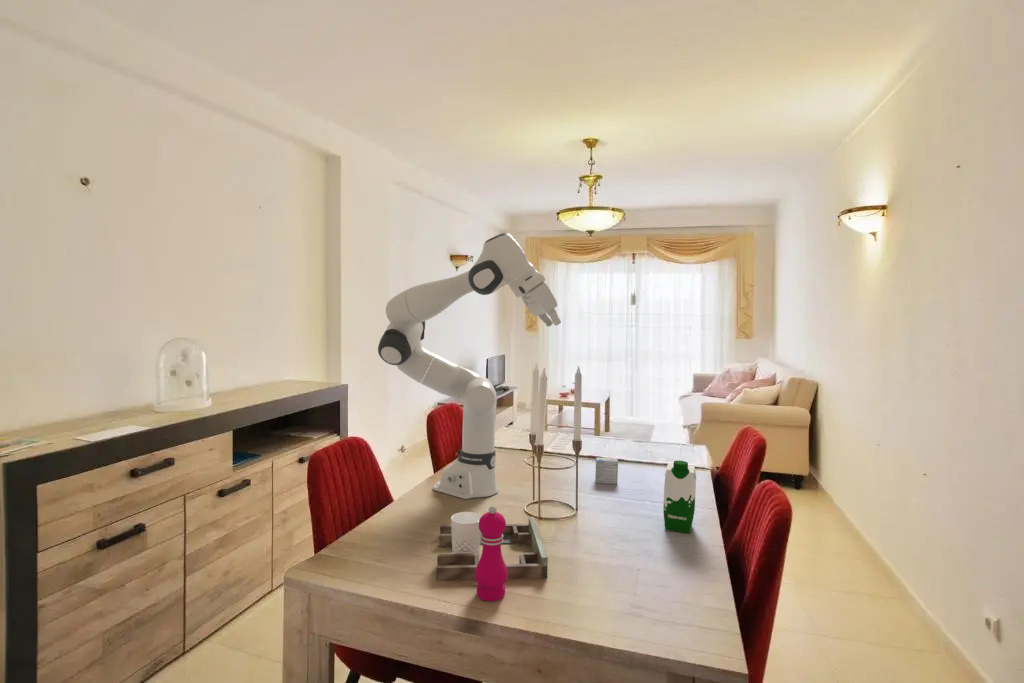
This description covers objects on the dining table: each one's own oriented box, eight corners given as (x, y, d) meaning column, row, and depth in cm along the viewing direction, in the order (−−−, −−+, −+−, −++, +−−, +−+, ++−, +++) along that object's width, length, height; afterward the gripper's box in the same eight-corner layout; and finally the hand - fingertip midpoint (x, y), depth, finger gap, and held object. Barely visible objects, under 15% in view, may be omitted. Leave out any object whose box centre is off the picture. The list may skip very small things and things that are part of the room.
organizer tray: (436, 580, 128) (436, 559, 128) (440, 535, 153) (440, 517, 153) (547, 578, 131) (547, 557, 131) (533, 534, 156) (533, 516, 156)
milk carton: (661, 530, 160) (664, 462, 159) (664, 519, 169) (666, 455, 168) (693, 535, 158) (696, 466, 156) (694, 524, 166) (697, 458, 165)
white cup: (444, 554, 142) (445, 516, 141) (469, 546, 147) (470, 509, 146) (462, 565, 136) (462, 526, 135) (487, 557, 141) (488, 518, 140)
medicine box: (616, 481, 206) (617, 458, 205) (617, 484, 201) (618, 461, 201) (595, 479, 206) (595, 457, 206) (595, 483, 202) (596, 460, 201)
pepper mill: (499, 605, 118) (501, 514, 117) (468, 598, 121) (470, 508, 120) (511, 589, 125) (514, 503, 124) (482, 583, 128) (484, 498, 126)
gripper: (511, 294, 165) (537, 332, 166) (524, 286, 145) (553, 330, 146) (528, 282, 166) (554, 320, 167) (543, 273, 146) (572, 316, 147)
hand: (554, 324), depth 156 cm, fingers open, 8 cm apart
